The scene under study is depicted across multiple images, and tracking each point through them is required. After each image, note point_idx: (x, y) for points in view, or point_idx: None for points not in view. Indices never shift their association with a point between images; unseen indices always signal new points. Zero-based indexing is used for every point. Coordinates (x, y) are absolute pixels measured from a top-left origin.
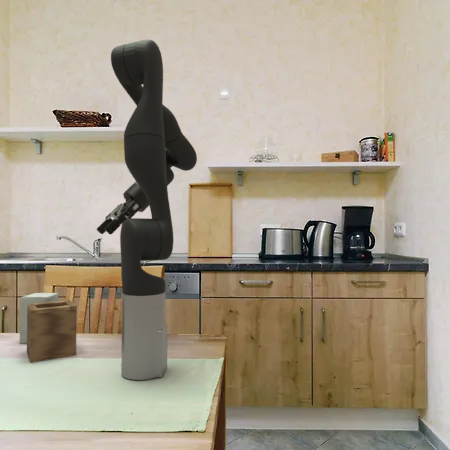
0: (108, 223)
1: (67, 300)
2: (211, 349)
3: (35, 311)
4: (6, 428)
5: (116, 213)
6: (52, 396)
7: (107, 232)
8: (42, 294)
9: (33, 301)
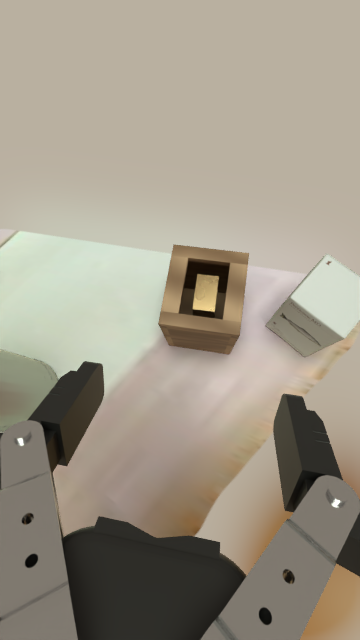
0: (290, 485)
1: (237, 329)
2: None
3: (172, 252)
4: (20, 232)
5: (177, 542)
6: (51, 277)
7: (103, 380)
8: (334, 298)
9: (304, 278)
